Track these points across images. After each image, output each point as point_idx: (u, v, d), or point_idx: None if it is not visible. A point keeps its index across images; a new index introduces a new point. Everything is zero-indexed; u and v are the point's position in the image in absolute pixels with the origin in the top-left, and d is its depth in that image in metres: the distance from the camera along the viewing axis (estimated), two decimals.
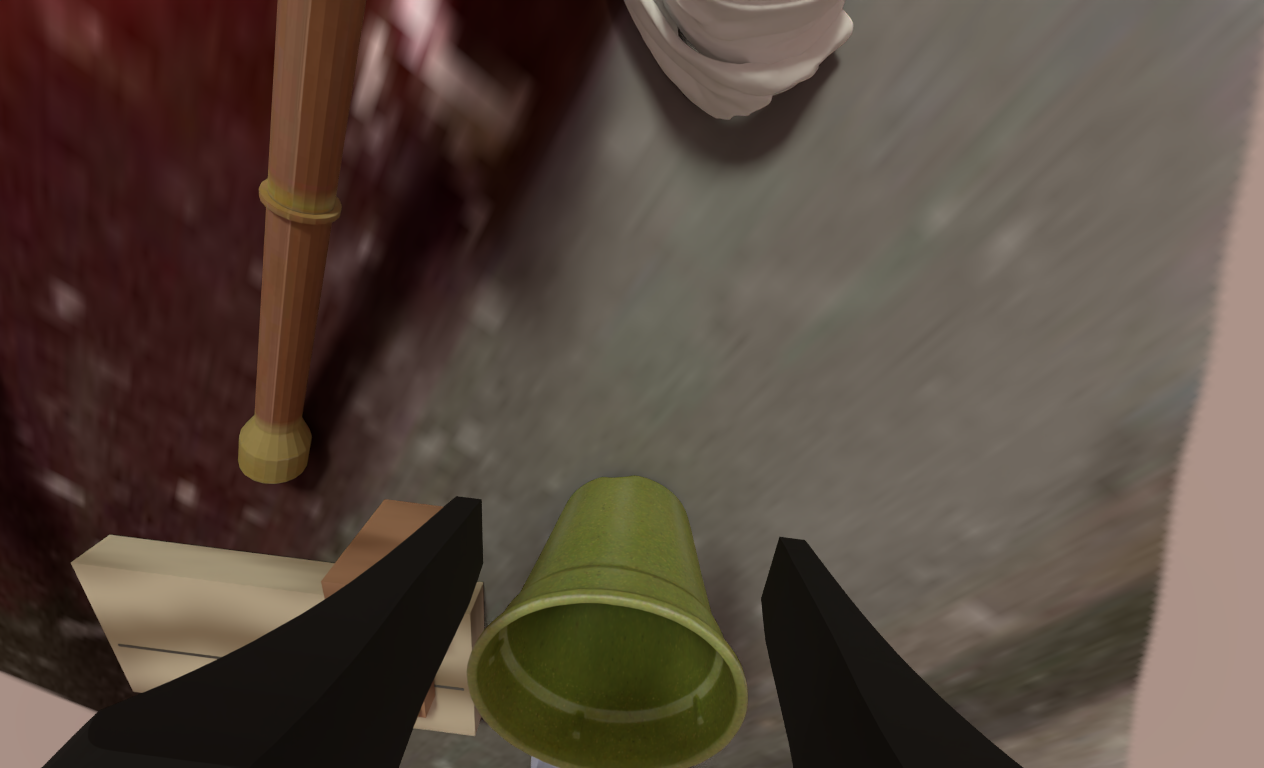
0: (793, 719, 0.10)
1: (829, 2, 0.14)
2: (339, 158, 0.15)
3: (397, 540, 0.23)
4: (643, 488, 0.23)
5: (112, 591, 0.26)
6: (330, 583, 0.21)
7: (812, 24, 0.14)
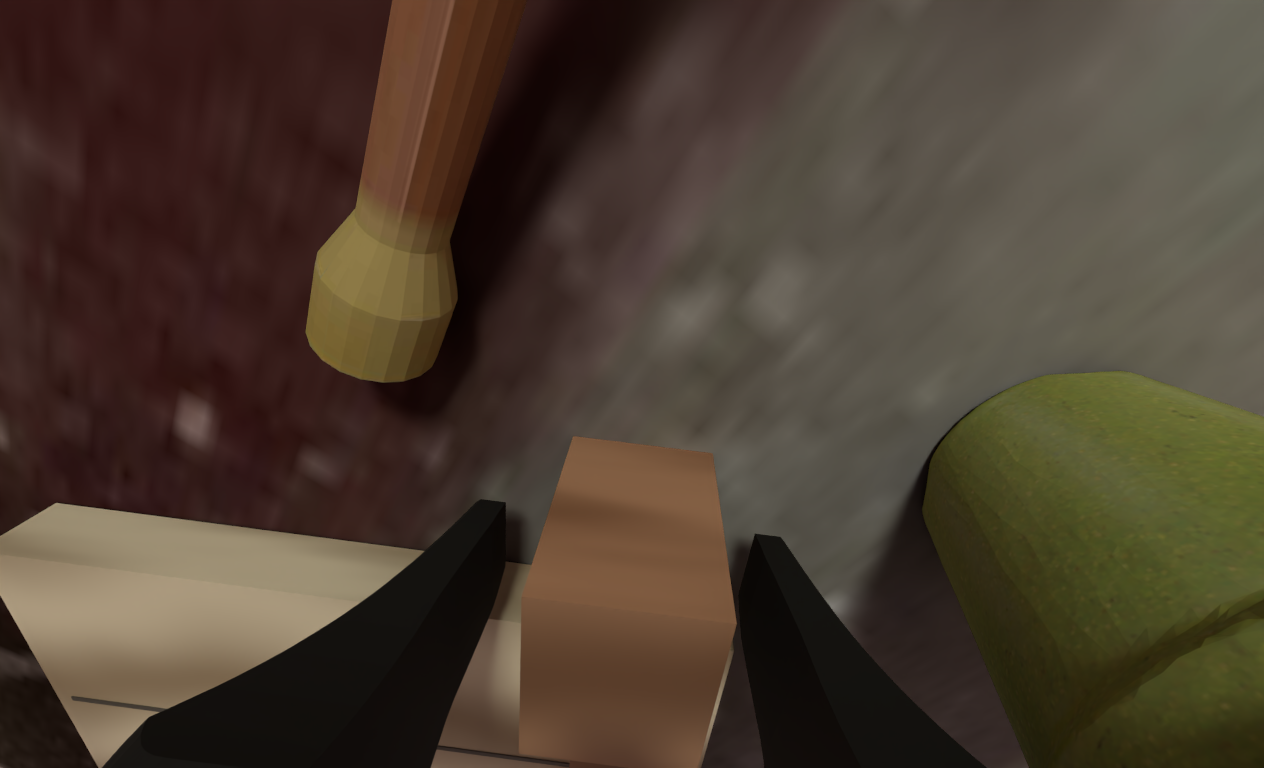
0: (764, 715, 0.10)
1: None
2: None
3: (639, 509, 0.11)
4: (1181, 389, 0.11)
5: (56, 605, 0.14)
6: (542, 601, 0.09)
7: None
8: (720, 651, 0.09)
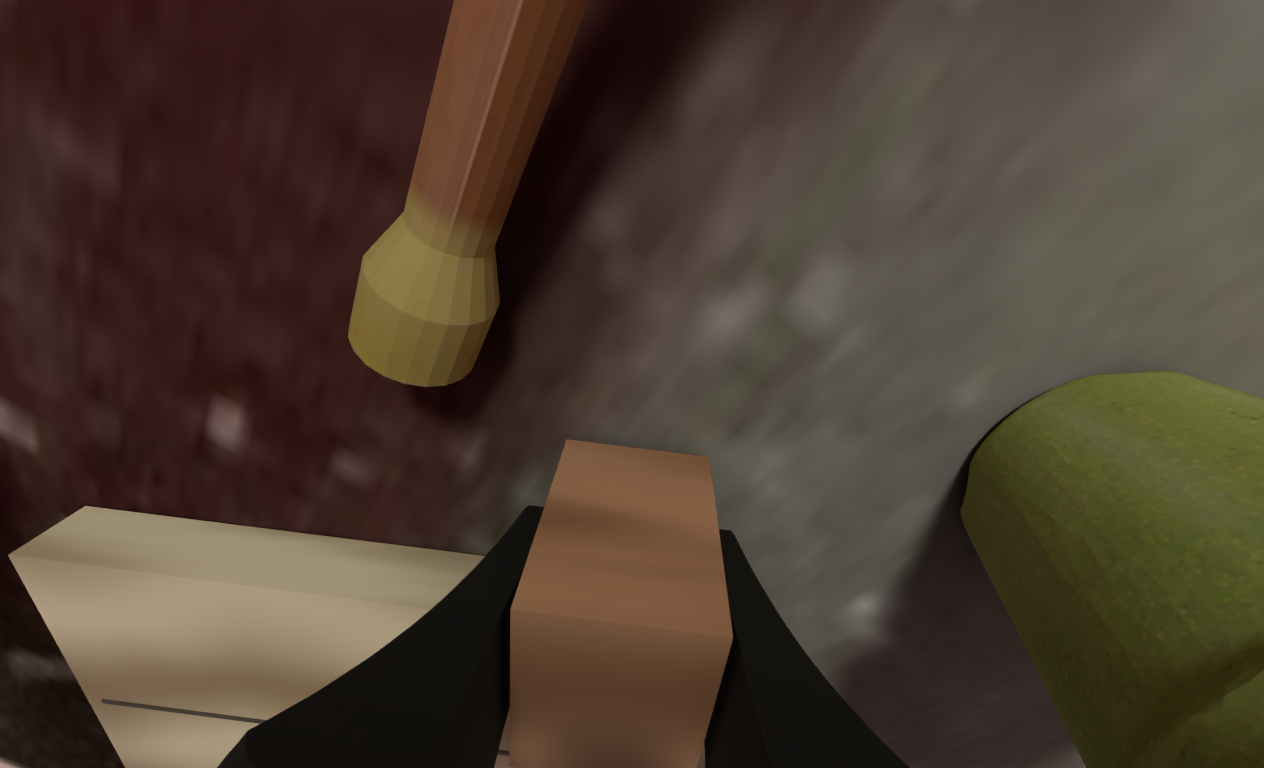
0: None
1: None
2: None
3: (633, 516, 0.11)
4: (1233, 389, 0.10)
5: (88, 609, 0.14)
6: (532, 614, 0.08)
7: None
8: (715, 665, 0.09)
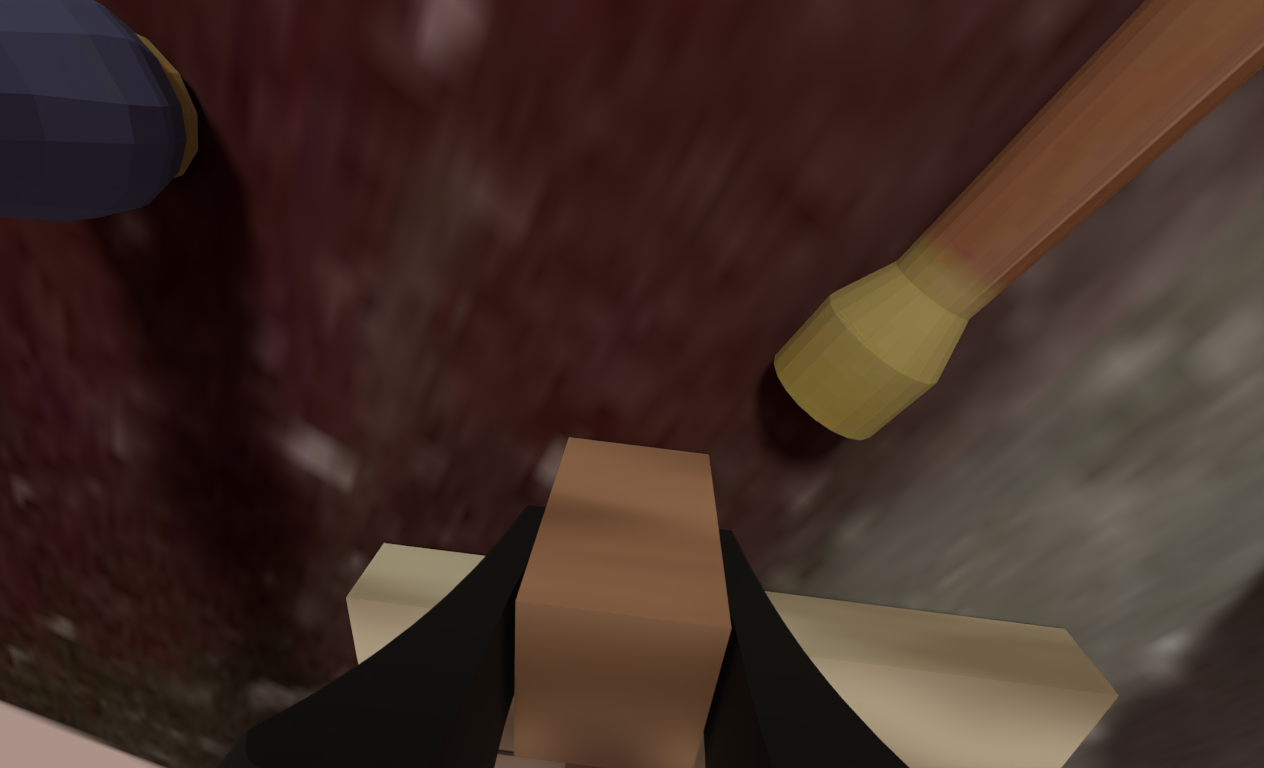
0: None
1: None
2: None
3: (634, 511, 0.11)
4: None
5: None
6: (537, 605, 0.09)
7: None
8: (715, 654, 0.09)
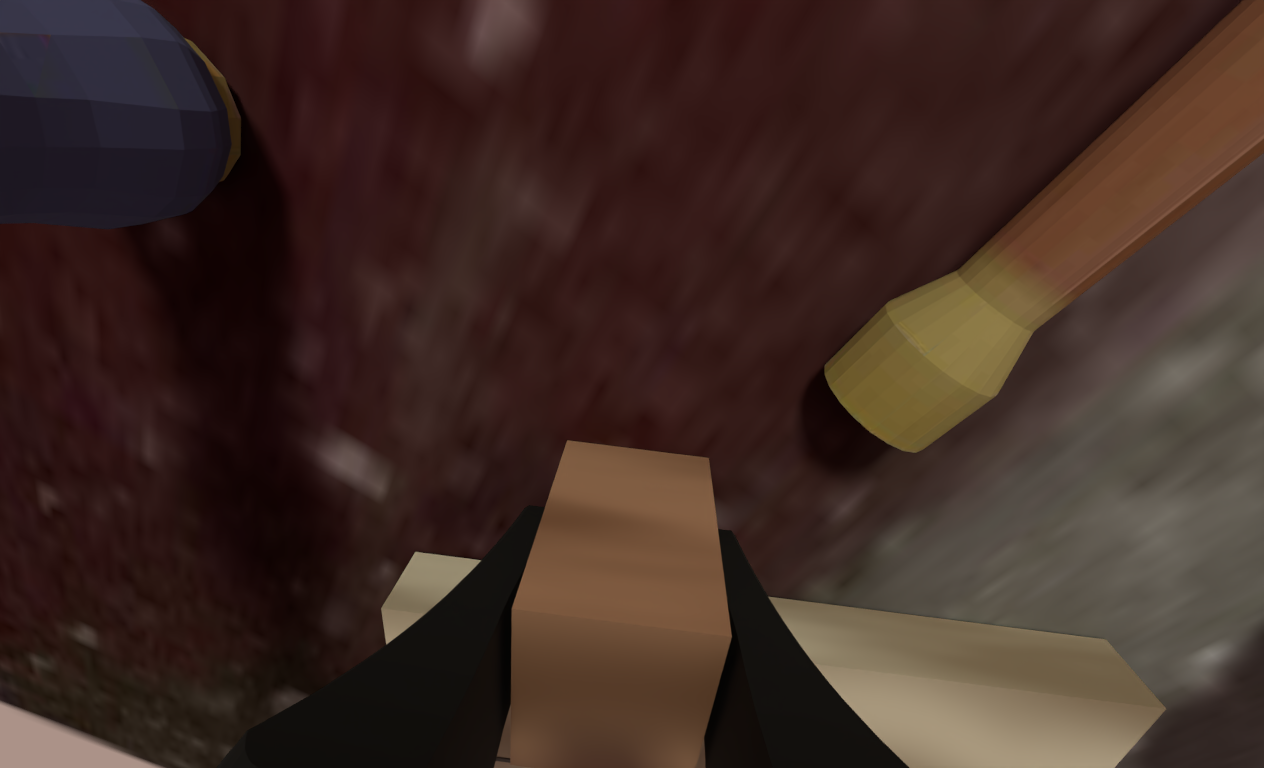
0: None
1: None
2: None
3: (633, 516, 0.11)
4: None
5: None
6: (533, 614, 0.09)
7: None
8: (714, 664, 0.09)
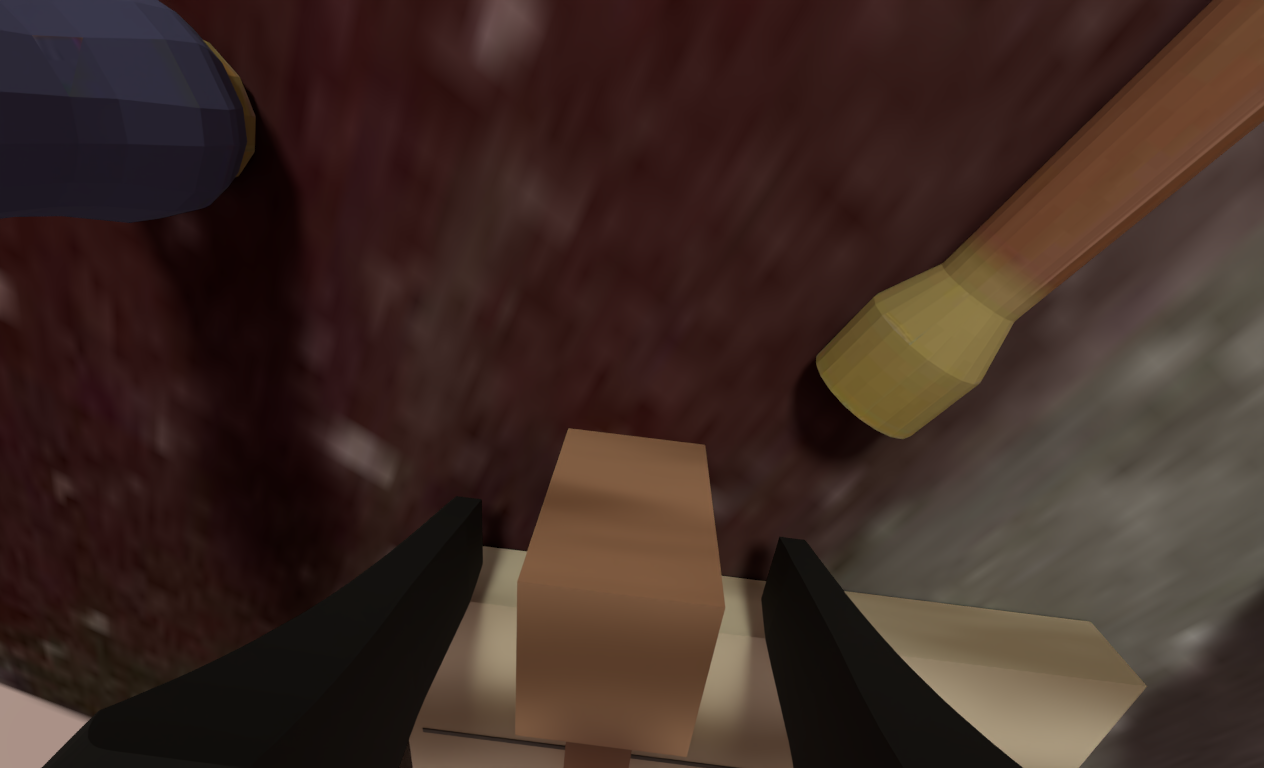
0: (793, 719, 0.10)
1: None
2: None
3: (632, 498, 0.11)
4: None
5: None
6: (537, 586, 0.09)
7: None
8: (709, 633, 0.09)
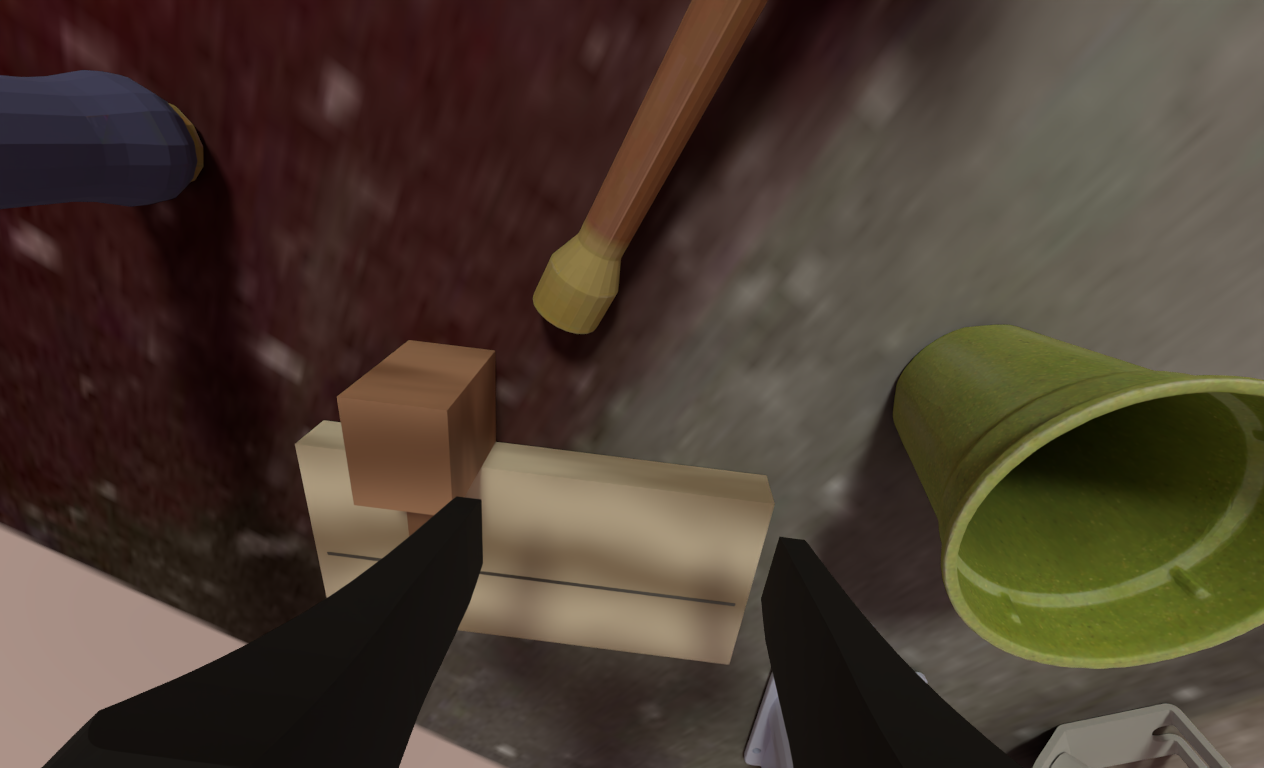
0: (793, 719, 0.10)
1: None
2: None
3: (427, 370, 0.19)
4: (1036, 333, 0.18)
5: (337, 482, 0.22)
6: (348, 400, 0.17)
7: None
8: (443, 428, 0.17)
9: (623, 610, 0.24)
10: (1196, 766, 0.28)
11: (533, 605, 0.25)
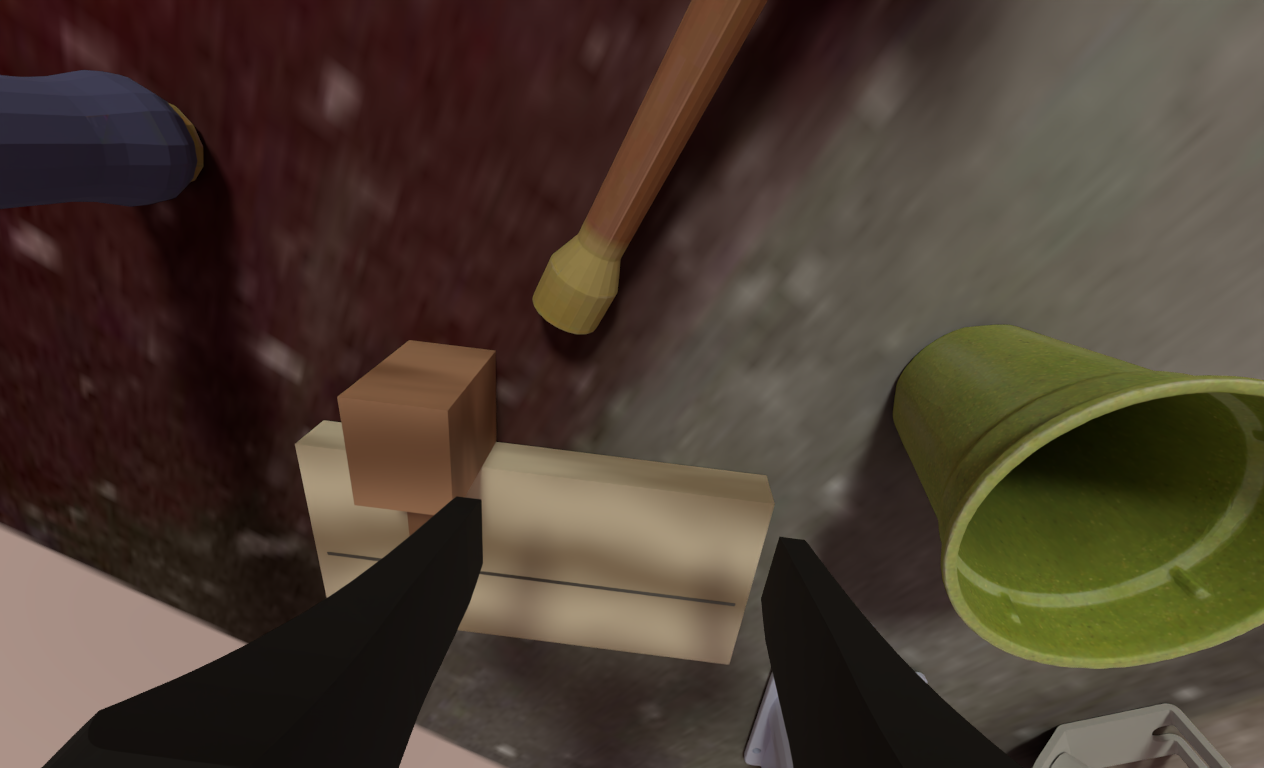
0: (793, 719, 0.10)
1: None
2: None
3: (427, 370, 0.19)
4: (1036, 333, 0.18)
5: (337, 482, 0.22)
6: (349, 400, 0.17)
7: None
8: (443, 428, 0.17)
9: (623, 610, 0.24)
10: (1196, 766, 0.28)
11: (533, 605, 0.25)
